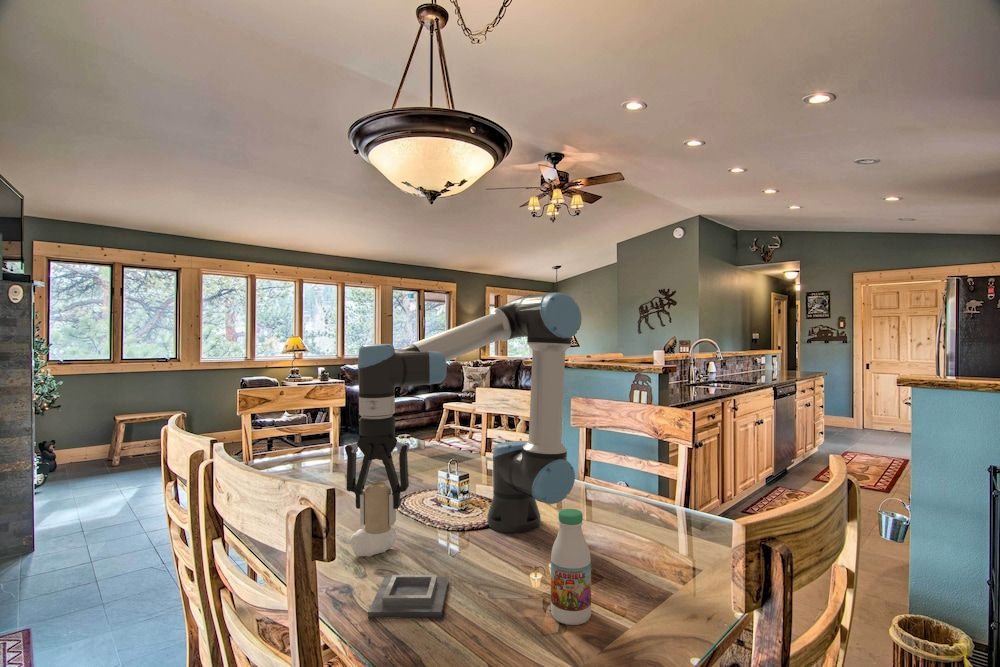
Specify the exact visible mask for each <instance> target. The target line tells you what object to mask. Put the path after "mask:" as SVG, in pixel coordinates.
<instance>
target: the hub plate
mask: <svg viewBox="0 0 1000 667" xmlns="http://www.w3.org/2000/svg"><path fill="white" fill-rule="evenodd" d="M449 578H450V577H449V576H438V575H437V574H392V576H384V577H383V580H382V582H381V584H380V586H379V588H378V590H377V591H376V595H375V596H374V599H373V601H372V602H371V605H370V607H369V609H368V611H367V618H368V619H441V618H442V615H443V610H444V607H443V606H445V602H446V597H447V591H448V586H449V582H450V579H449Z"/></svg>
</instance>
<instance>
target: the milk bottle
mask: <svg viewBox="0 0 1000 667" xmlns="http://www.w3.org/2000/svg"><path fill="white" fill-rule="evenodd" d="M583 516H584V515H583V512H582V511H581V510H579V509H576V508H564V509H560V510H559V512H558V524H559V528H558V533H557V535H556V538H555V540H554V542H553V545H552V548H551V555H550V613H551V615H552V617H553V619H554V620H555V621H557V622H558V623H561V624H563V625H568V626H579V625H582V624H585V623H587V622H588V621H589V620H590V618H591V615H592V562H591V561H592V560H591V553H590V552H591V551H590V548H589V545H588V543H587V540H586V538H585V536H584V532H583V529H582V525H583V524H584V523H583Z"/></svg>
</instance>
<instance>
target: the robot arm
mask: <svg viewBox="0 0 1000 667" xmlns="http://www.w3.org/2000/svg"><path fill="white" fill-rule="evenodd" d="M581 326H582V312H581V308H580V306H579V304H578V303H577V302H576V301H575V298H573V297H572V296H570V295H568V294H567V293H565V292H564V293H562V292H554V291H553V292H547V293H545V292H544V293H538V294H537V293H536V294H528V295H523V296H520V297H518V298H516V299H514V300H511V301H509V302H507V303H504V304H502V305H499V306H497V307H495V308H493V309H491V310H490V312H489V314H487V315H484V316H482V317H479V318H476V319H474V320H471V321H468V322H465V323H463V324H459V325H458V326H455V327H452V328H449V329H447V330H445V331H442V332H441V331H440V332H439V333H436V334H433V335H431V336H429V337H426V338H424V339H420V340H418V341H416V342H413V343H411V344H408V345H405V346H402V347H400V348H398V349H396V348H395V347H394V345H393V343H392V344H391V343H369V344H367V343H366V344H362V345H361V346H360V347H359V349H358V359H357V360H358V361H357V371H358V373H357V374H358V411H359V412H358V415H359V416H360V418H358V431H359V432H358V440H357V441H356V442H353V443H352V442H349V443H347V445H345V447H344V451H345V453H346V456H347V457H346V458H347V459H346V460H347V462H346V488H345V489H346V491H347V492H352V493H354V494H355V508H356V509H357V510H359V511H360V513H359V515H360V517H359V521H360V524H359V525H360V526H362V527H364V525H365V486H366V482H367V478H368V475H369V471H370V468H371V464H372V461H374V460H377V461H378V460H379V461H382V464H383V465H384V468H385V471H386V475H387V479H388V482H389V485H390V486H389V487H390V488H391V493H390V495H389V526H393V527H394V525H395V523H396V521H397V510H398V509H399V507H401V493H402V492H406V491H407V490H408V488H409V486H410V485H409V484H410V483H409V482H410V481H409V466H408V465H409V464H408V463H409V462H408V452H409V449H410V444H409V443H408V442H406V443H403V442H400V441H398V439H397V437H396V418H395V416H394V414H395V413H396V410H395V409H396V406H395V404H396V402H395V400H396V398H395V396H396V394H395V393H396V391H395V388H396V387H399V388H401V387H404V386H405V387H409V386H412V387H413V386H424V385H425V386H426V385H427V386H431V385H435V384H437V385H438V384H441V383H442V382H444V380H445V379H446V377H447V366H448V364H447V362H449V361H451V360H453V359H456V358H459V357H461V356H463V355H466V354H468V353H471V352H473V351H475V350H478V349H480V348H483V347H486V346H487V345H491V344H492V343H495V342H497V341H501V342H507V341H510V340H513V339H516V338H526V342H527V343H526V344H527V345H528V346H529V347H530V348H531V350H532V356H531V357H532V358H531V379H530V380H531V381H530V401H529V422H528V423H529V425H528V426H529V428H528V440H514V441H512V440H511V441H505V442H500V443H497V444H496V445H494V447H493V450H492V468H493V470H492V473H493V474H492V476H493V477H492V480H493V483H492V484H493V485H492V488H493V489H492V490H493V492H492V493H493V494H492V495H493V496H492V499H491V502H490V506H489V509H488V512H487V517H486V518H487V521H486V522H487V523H488V524H487V526H488V525H489V526H488V527H489V528H490V529H491V530H494V531H497V532H501V533H506V534H507V533H508V534H522V533H528V532H531V531H535V530H537V529H538V528H540V526H541V513H540V510H539V508H538V504H537V502H540V503H545V504H549V505H554V504H558V503H560V502H562V501H564V500H565V499H566V498H567V496H568V495H570V493H571V491H572V490H573V488H574V485H575V481H576V473H575V468H574V467H573V465H572V463H570V462H569V461H568V460H567V456H568V449H567V447H566V446H565V445H564V444H563V443H562V434H563V414H564V413H563V411H564V392H565V391H564V388H565V386H564V385H565V364H566V351H567V350H568V349H569V348H570V347H571V346H572V338H573V337H574V336H575V335H576V334H577V333H578V331H579V330H580V329H581ZM395 448H396V450H397V453H398V454H399V456H398V463H399V478H398V475H397V472H396V468H395V464H394V462H393V455H392V453H393V451H394V450H395ZM359 449H360V451H361V452H362V454H363V458H362V461H361V467H360V472H359V475H358V478H357V452H358V450H359ZM356 480H357V481H356Z"/></svg>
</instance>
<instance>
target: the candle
mask: <svg viewBox="0 0 1000 667" xmlns="http://www.w3.org/2000/svg"><path fill="white" fill-rule="evenodd" d="M364 491H365V531H366V532H367V533H369V534H381V533H385V532H388V531H389V530H390V529H391V526H389V495H390V493H391V492H392V489H391V486H389V485H387V484H386V482H384V481H375V482H374V483H373V482H370V484H369V485H368V486H367V487H366V489H364Z"/></svg>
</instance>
